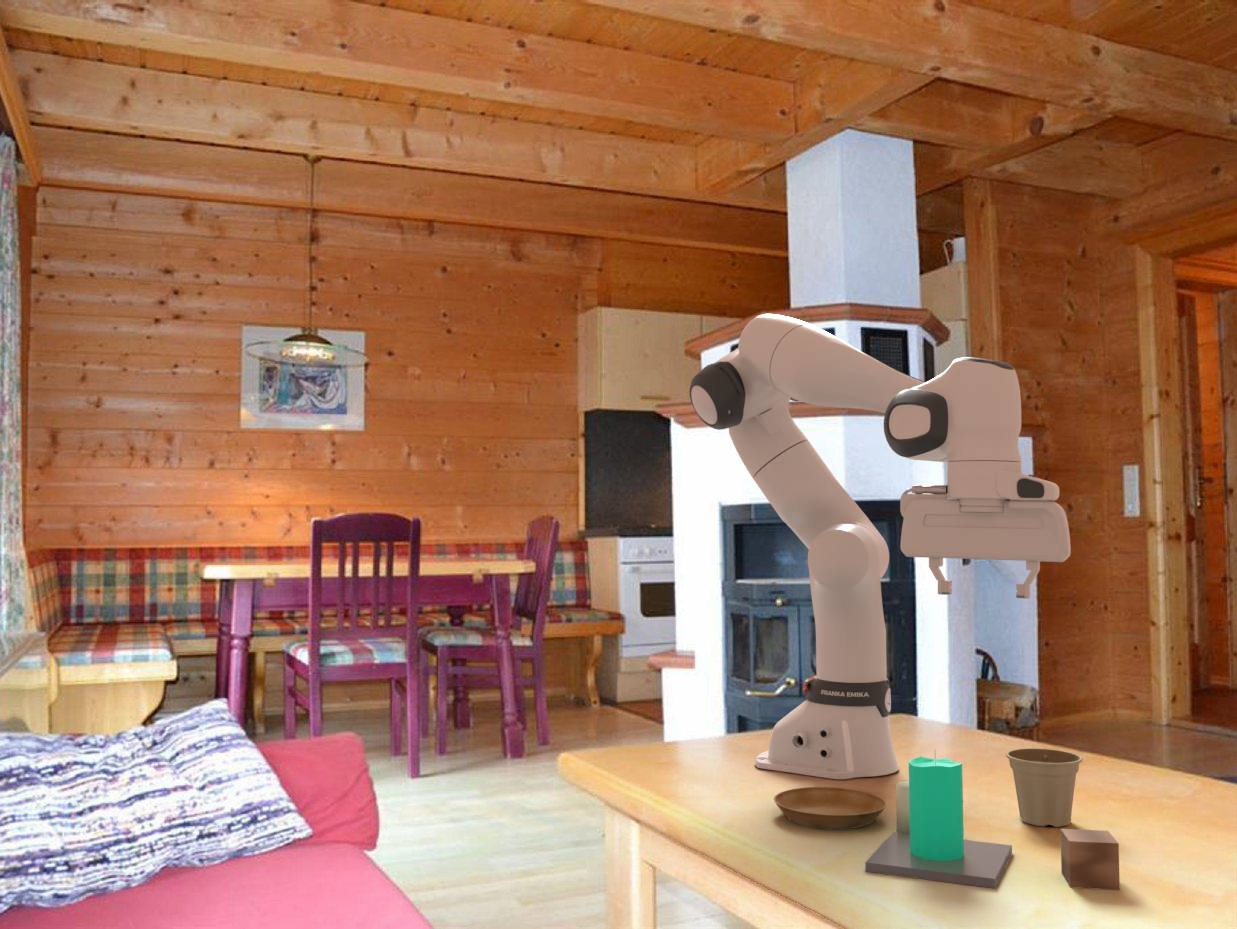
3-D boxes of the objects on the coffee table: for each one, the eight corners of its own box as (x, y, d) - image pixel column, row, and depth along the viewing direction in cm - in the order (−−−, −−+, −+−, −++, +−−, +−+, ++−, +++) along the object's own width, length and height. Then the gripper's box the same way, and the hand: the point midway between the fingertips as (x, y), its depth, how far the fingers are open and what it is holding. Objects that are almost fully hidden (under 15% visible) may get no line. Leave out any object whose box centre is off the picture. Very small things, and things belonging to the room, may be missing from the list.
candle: (966, 862, 128) (964, 754, 129) (911, 859, 130) (909, 752, 130) (961, 847, 134) (959, 744, 135) (908, 844, 136) (907, 742, 136)
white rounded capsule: (892, 835, 143) (892, 787, 143) (901, 826, 148) (900, 779, 148) (933, 840, 141) (932, 791, 141) (941, 830, 145) (940, 783, 146)
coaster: (865, 871, 129) (865, 862, 129) (893, 839, 141) (893, 831, 141) (994, 888, 122) (994, 878, 122) (1012, 853, 135) (1011, 845, 135)
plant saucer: (907, 818, 152) (907, 798, 152) (847, 841, 141) (847, 820, 142) (814, 800, 162) (814, 781, 162) (751, 820, 152) (751, 800, 152)
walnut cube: (1070, 888, 123) (1069, 841, 123) (1061, 873, 128) (1060, 828, 128) (1119, 890, 122) (1118, 843, 122) (1109, 876, 127) (1107, 830, 127)
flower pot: (1076, 835, 143) (1074, 765, 143) (999, 825, 148) (998, 757, 148) (1090, 818, 151) (1088, 752, 151) (1016, 809, 156) (1015, 745, 156)
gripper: (894, 484, 145) (894, 593, 144) (1067, 485, 136) (1067, 602, 135) (905, 485, 150) (904, 590, 150) (1072, 486, 141) (1072, 598, 141)
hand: (983, 596), depth 142 cm, fingers open, 8 cm apart
